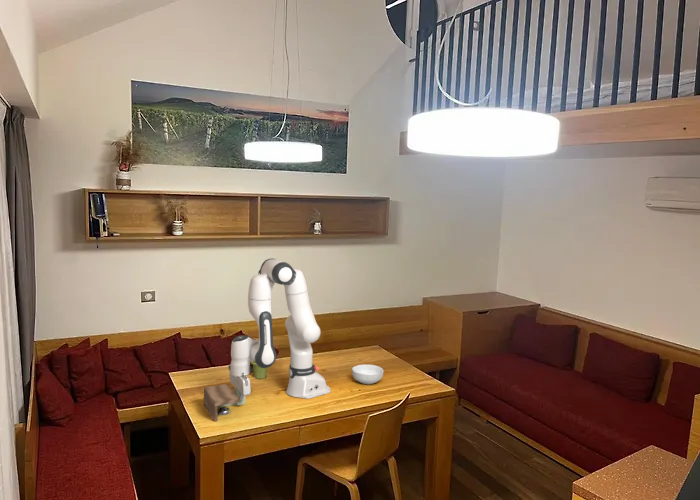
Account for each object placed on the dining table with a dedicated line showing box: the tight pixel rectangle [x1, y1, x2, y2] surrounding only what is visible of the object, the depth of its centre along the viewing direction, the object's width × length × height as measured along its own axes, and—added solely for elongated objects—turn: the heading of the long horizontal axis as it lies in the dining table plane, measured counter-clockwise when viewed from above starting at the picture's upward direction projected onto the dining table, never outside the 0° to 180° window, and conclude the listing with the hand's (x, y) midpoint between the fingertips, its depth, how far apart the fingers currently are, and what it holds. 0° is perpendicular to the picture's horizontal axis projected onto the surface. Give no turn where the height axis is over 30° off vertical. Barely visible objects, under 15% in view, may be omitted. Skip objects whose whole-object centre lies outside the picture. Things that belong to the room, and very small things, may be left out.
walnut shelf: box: [203, 383, 240, 422], centre depth 253 cm, size 11×18×9 cm, turn 30°
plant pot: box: [252, 361, 268, 380], centre depth 298 cm, size 9×9×9 cm
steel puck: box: [217, 406, 230, 416], centre depth 252 cm, size 5×5×2 cm
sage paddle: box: [217, 387, 246, 409], centre depth 260 cm, size 16×4×7 cm, turn 120°
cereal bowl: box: [351, 364, 384, 385], centre depth 298 cm, size 17×17×7 cm
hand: (239, 397), depth 264 cm, fingers closed on sage paddle, 4 cm apart
